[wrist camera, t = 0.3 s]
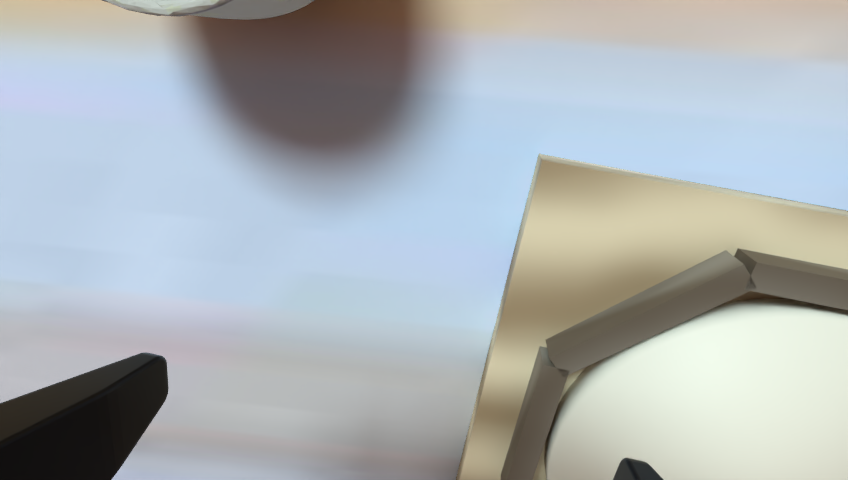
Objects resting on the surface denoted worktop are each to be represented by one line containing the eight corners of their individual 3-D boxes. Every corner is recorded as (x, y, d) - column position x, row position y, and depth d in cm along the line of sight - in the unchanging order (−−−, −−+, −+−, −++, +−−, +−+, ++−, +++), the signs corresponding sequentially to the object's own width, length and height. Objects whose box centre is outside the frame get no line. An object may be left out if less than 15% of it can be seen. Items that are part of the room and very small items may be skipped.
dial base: (853, 647, 28) (892, 711, 25) (438, 545, 30) (433, 594, 27) (1177, 272, 19) (1298, 308, 16) (538, 153, 20) (546, 167, 18)
